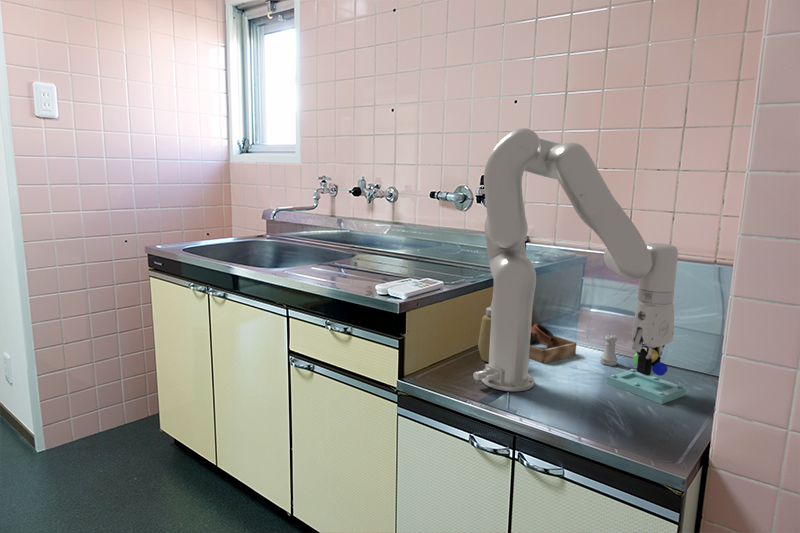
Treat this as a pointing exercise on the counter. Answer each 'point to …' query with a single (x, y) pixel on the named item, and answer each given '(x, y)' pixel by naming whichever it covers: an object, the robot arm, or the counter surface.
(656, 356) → the multicolored ball cluster
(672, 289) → the robot arm
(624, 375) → the baseplate
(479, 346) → the squeeze bottle
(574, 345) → the tray
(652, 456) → the counter surface
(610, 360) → the rook chess piece
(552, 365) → the counter surface
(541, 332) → the pottery mug
